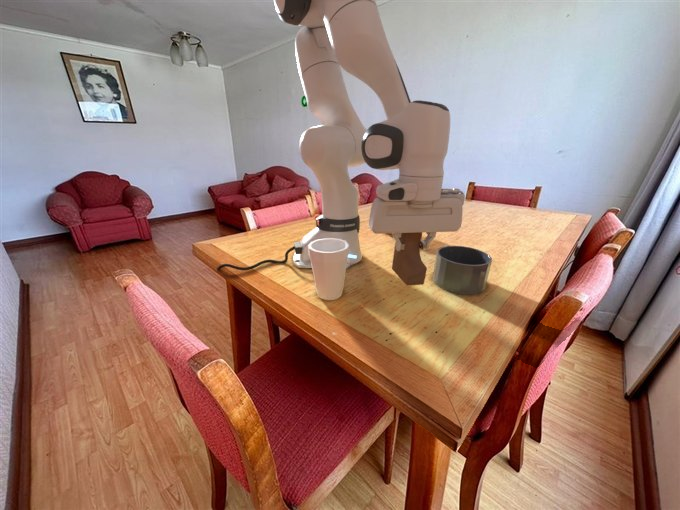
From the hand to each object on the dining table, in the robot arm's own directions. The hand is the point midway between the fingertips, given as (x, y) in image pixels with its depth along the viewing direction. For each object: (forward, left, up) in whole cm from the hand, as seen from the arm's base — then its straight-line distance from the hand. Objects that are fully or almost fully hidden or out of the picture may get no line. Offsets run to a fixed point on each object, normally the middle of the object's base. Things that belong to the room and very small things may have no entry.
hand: (411, 249), depth 61 cm
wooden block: (0, +1, -8) cm, 8 cm away
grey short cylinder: (+16, +6, -12) cm, 21 cm away
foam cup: (-19, +3, -12) cm, 23 cm away
